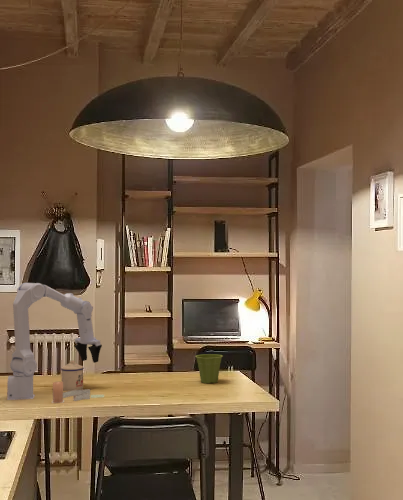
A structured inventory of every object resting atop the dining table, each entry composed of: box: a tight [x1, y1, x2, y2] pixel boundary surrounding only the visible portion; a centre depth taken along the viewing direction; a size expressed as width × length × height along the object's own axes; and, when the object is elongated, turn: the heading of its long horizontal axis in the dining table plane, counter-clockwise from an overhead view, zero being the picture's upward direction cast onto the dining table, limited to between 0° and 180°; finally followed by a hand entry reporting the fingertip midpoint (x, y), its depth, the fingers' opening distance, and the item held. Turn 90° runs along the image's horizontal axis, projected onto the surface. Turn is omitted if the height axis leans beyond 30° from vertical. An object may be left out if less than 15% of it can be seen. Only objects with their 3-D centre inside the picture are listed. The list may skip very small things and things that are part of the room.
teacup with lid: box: [60, 359, 84, 392], centre depth 265 cm, size 12×9×12 cm
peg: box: [52, 381, 64, 404], centre depth 237 cm, size 4×4×7 cm
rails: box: [63, 389, 91, 402], centre depth 244 cm, size 12×12×2 cm
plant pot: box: [195, 353, 224, 384], centre depth 277 cm, size 12×12×11 cm
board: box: [51, 394, 105, 404], centre depth 243 cm, size 20×15×1 cm
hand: (90, 361), depth 269 cm, fingers open, 7 cm apart
